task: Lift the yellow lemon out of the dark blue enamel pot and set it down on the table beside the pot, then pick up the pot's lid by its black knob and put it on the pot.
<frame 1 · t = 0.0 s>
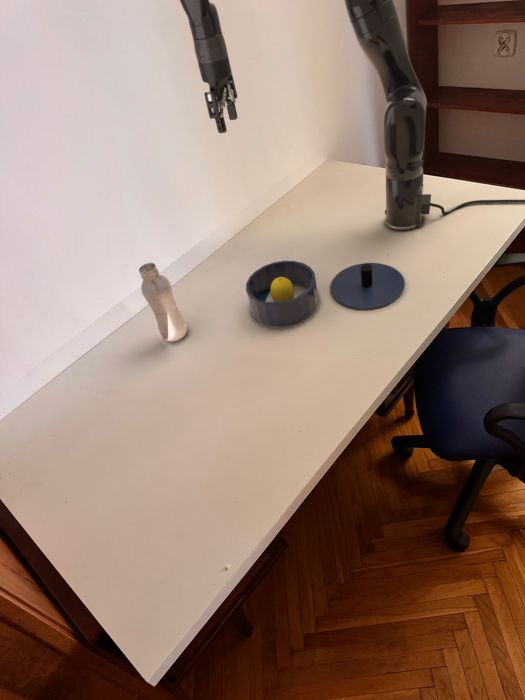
hand: (228, 125, 125), 29 cm above the table, tool pointing down, fingers open, 8 cm apart
pot: (285, 305, 115), on the table
plastic bottle: (176, 335, 115), on the table
lemon: (285, 305, 115), resting on pot
pot lid: (367, 286, 113), point 1 cm above the table
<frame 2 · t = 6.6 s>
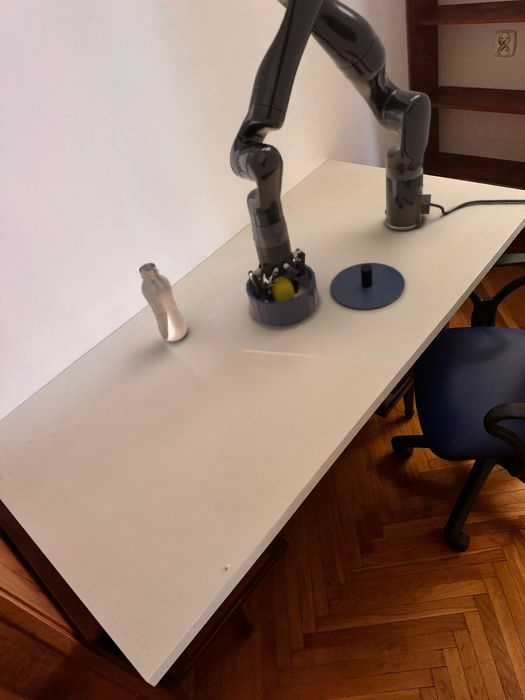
hand: (283, 297, 113), 3 cm above the table, tool pointing down, fingers closed on lemon, 5 cm apart
lemon: (285, 305, 115), resting on pot, touching gripper
everything else where it was.
when the fingers open (2 cm above the table, at t = 14.9 s): lemon stays where it is, on the table.
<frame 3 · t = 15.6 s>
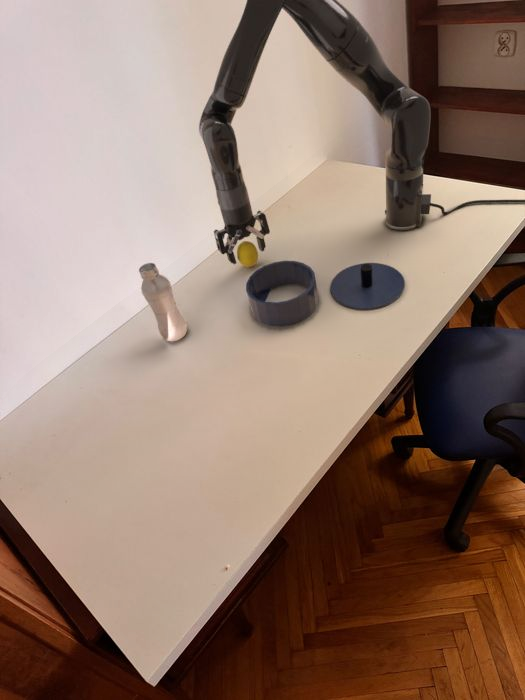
hand: (248, 256, 126), 3 cm above the table, tool pointing down, fingers open, 8 cm apart
lemon: (250, 267, 129), on the table
everything else where it was.
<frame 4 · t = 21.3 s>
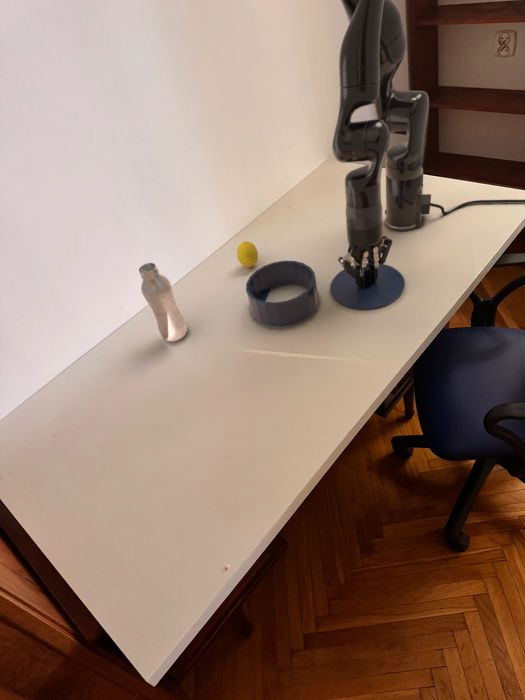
hand: (367, 283, 112), 1 cm above the table, tool pointing down, fingers closed on pot lid, 2 cm apart
pot lid: (367, 286, 113), point 1 cm above the table, touching gripper
everything else where it was.
when the fingers open (8 cm above the table, at t = 27.9 s): pot lid stays where it is, resting on pot.
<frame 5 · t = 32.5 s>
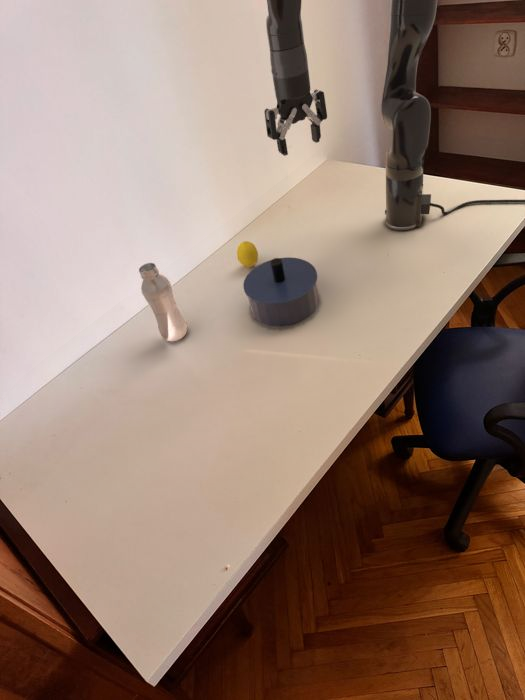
hand: (300, 147, 109), 28 cm above the table, tool pointing down, fingers open, 8 cm apart
pot lid: (280, 281, 110), point 7 cm above the table, touching pot
everything else where it was.
at the end: lemon inside the target area (0.0 cm from its centre), on the table; pot lid 0.0 cm off-centre on the pot, point 7.3 cm above the pot's base; pot lid tilted 0° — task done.
